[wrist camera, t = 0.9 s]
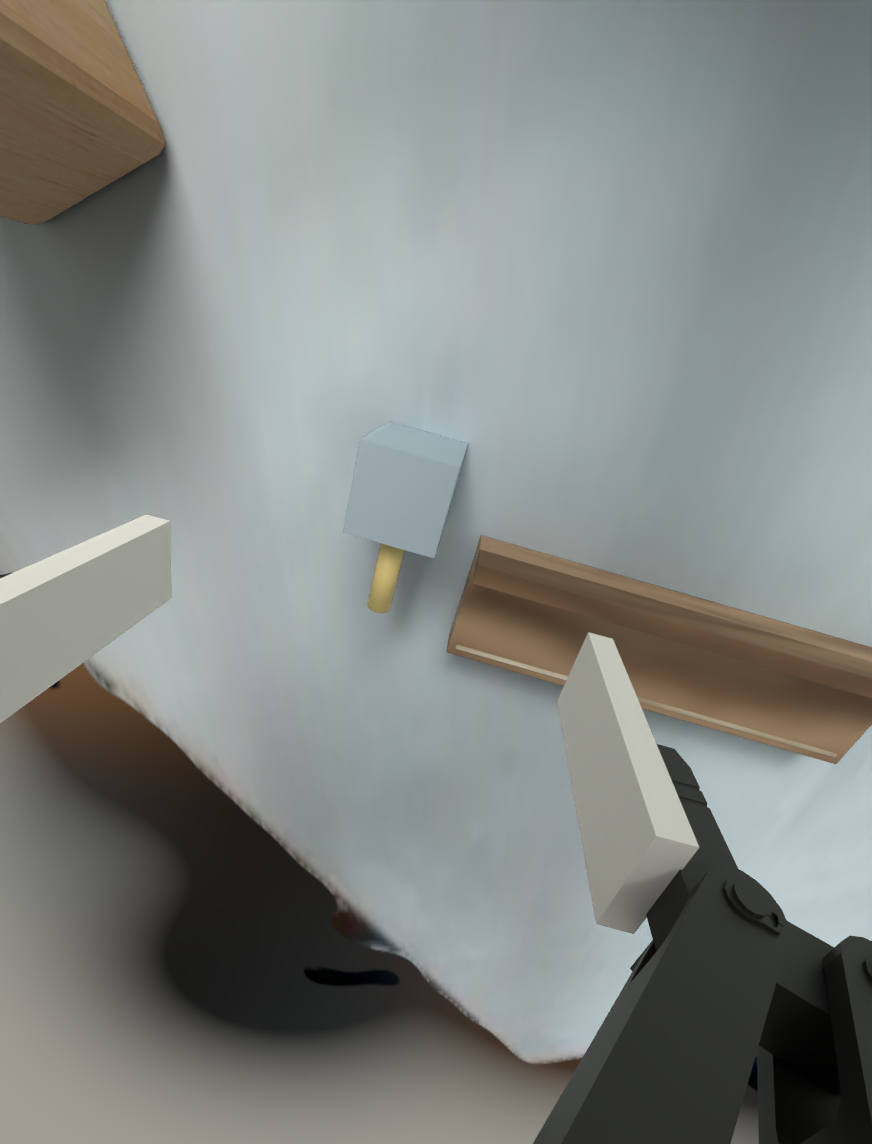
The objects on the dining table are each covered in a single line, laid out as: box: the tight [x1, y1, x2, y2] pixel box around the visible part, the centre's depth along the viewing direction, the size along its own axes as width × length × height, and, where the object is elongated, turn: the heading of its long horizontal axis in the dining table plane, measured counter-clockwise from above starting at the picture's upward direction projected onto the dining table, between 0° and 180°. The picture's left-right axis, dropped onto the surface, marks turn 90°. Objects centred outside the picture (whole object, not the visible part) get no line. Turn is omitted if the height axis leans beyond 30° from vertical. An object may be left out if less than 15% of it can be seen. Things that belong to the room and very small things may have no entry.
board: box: [447, 535, 872, 764], centre depth 30 cm, size 8×28×5 cm, turn 75°
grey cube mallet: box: [343, 421, 468, 613], centre depth 28 cm, size 10×5×7 cm, turn 165°
